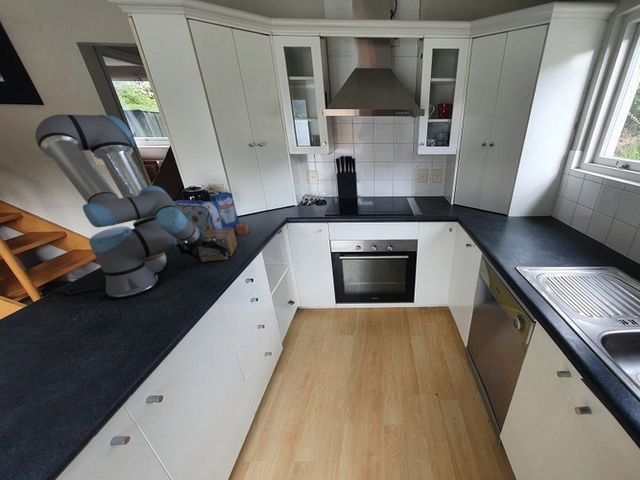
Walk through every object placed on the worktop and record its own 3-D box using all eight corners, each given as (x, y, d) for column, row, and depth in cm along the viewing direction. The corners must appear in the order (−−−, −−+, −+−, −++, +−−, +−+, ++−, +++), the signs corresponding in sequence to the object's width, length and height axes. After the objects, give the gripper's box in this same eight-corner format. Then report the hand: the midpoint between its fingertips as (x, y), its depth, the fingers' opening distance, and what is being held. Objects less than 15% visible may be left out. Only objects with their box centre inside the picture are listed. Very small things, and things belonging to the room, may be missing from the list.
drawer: (224, 264, 122) (220, 248, 119) (198, 266, 120) (193, 250, 116) (233, 247, 138) (229, 233, 135) (210, 249, 136) (206, 235, 132)
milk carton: (223, 229, 163) (215, 196, 155) (218, 227, 166) (209, 195, 157) (239, 224, 171) (231, 193, 162) (233, 223, 174) (225, 191, 165)
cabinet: (231, 256, 131) (226, 237, 127) (204, 258, 128) (198, 240, 124) (237, 244, 144) (233, 227, 140) (213, 246, 141) (207, 229, 137)
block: (237, 234, 156) (235, 226, 154) (239, 231, 160) (237, 223, 158) (247, 234, 157) (245, 226, 155) (248, 231, 161) (246, 223, 159)
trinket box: (153, 277, 113) (145, 257, 109) (132, 274, 115) (123, 254, 111) (176, 265, 122) (169, 246, 118) (156, 263, 124) (148, 244, 120)
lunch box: (231, 235, 155) (221, 197, 145) (220, 242, 145) (208, 202, 136) (185, 233, 157) (173, 195, 147) (171, 240, 147) (157, 200, 138)
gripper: (153, 247, 99) (182, 266, 119) (223, 241, 104) (240, 260, 125) (154, 229, 101) (183, 250, 121) (222, 223, 106) (239, 244, 127)
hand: (212, 255), depth 123 cm, fingers closed on drawer, 10 cm apart
